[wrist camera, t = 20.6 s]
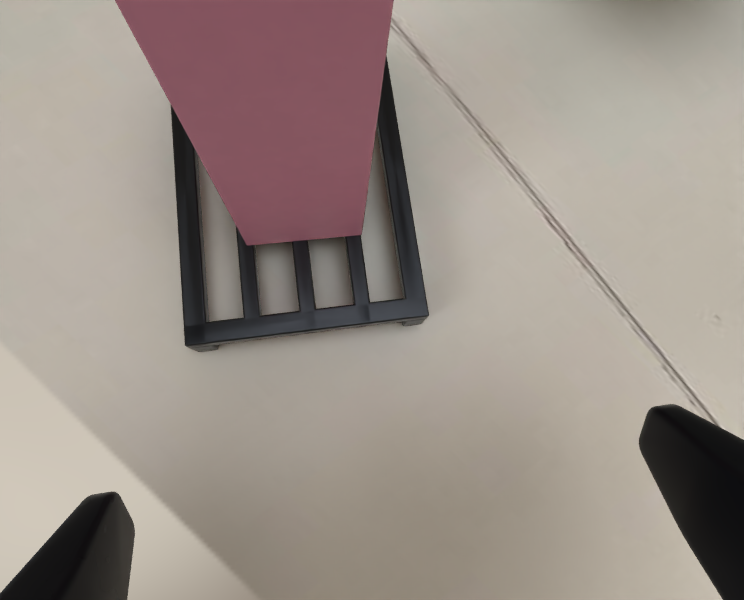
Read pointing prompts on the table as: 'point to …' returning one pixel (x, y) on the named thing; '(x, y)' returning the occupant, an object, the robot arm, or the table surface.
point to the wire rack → (297, 257)
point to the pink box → (274, 103)
